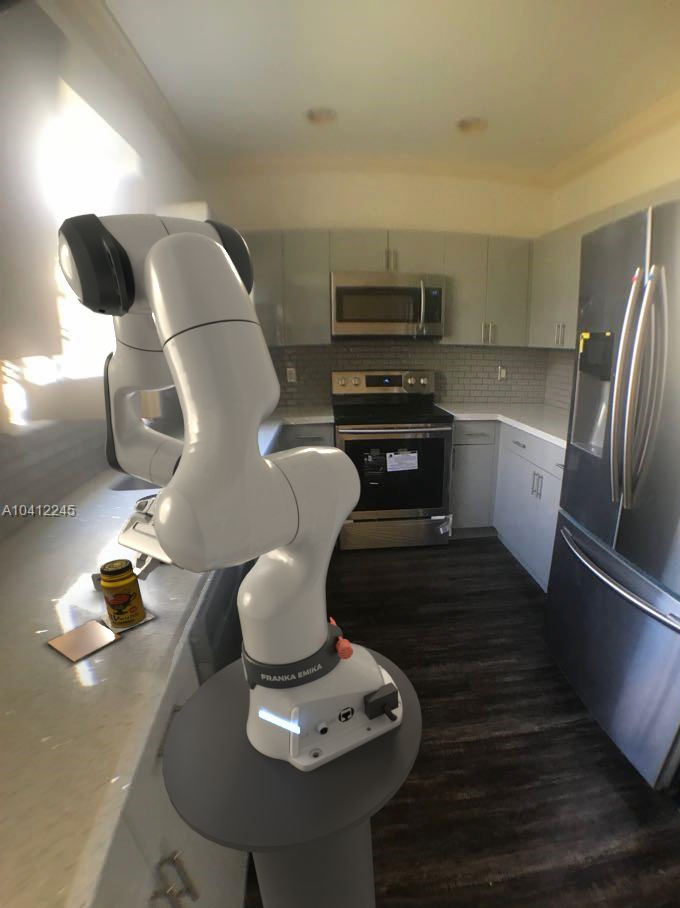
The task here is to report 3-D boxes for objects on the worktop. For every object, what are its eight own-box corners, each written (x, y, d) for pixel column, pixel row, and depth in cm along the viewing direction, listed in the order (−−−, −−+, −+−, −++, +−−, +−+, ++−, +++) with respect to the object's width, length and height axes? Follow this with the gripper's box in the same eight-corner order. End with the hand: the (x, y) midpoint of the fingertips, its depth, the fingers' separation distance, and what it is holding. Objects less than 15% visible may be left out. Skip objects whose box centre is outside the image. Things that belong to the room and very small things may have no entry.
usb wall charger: (95, 590, 100) (90, 574, 99) (106, 575, 106) (102, 559, 105) (115, 588, 101) (110, 572, 99) (125, 573, 107) (121, 557, 106)
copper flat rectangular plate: (93, 621, 89) (93, 619, 89) (121, 637, 84) (120, 636, 84) (48, 643, 83) (47, 642, 83) (74, 662, 78) (74, 661, 78)
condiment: (115, 634, 84) (101, 576, 80) (99, 617, 90) (86, 562, 86) (155, 618, 89) (144, 562, 85) (138, 602, 95) (127, 550, 91)
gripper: (215, 531, 91) (181, 597, 87) (156, 513, 101) (123, 570, 97) (192, 518, 86) (154, 587, 82) (132, 500, 96) (96, 560, 92)
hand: (137, 578), depth 90 cm, fingers closed
